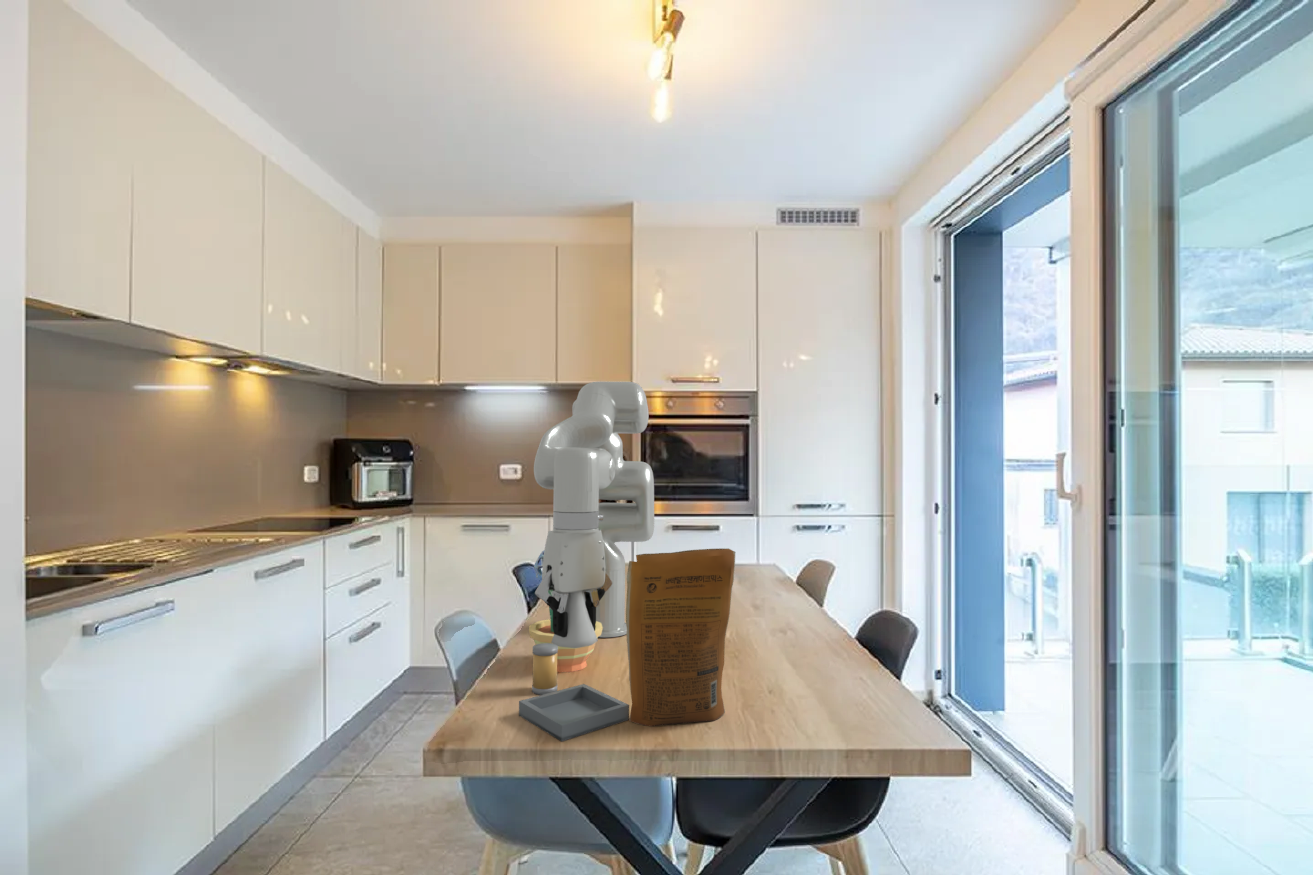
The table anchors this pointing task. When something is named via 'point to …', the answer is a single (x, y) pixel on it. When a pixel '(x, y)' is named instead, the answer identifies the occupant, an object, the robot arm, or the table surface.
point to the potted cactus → (544, 634)
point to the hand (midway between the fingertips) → (574, 631)
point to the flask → (577, 624)
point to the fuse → (544, 668)
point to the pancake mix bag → (678, 634)
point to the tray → (573, 711)
